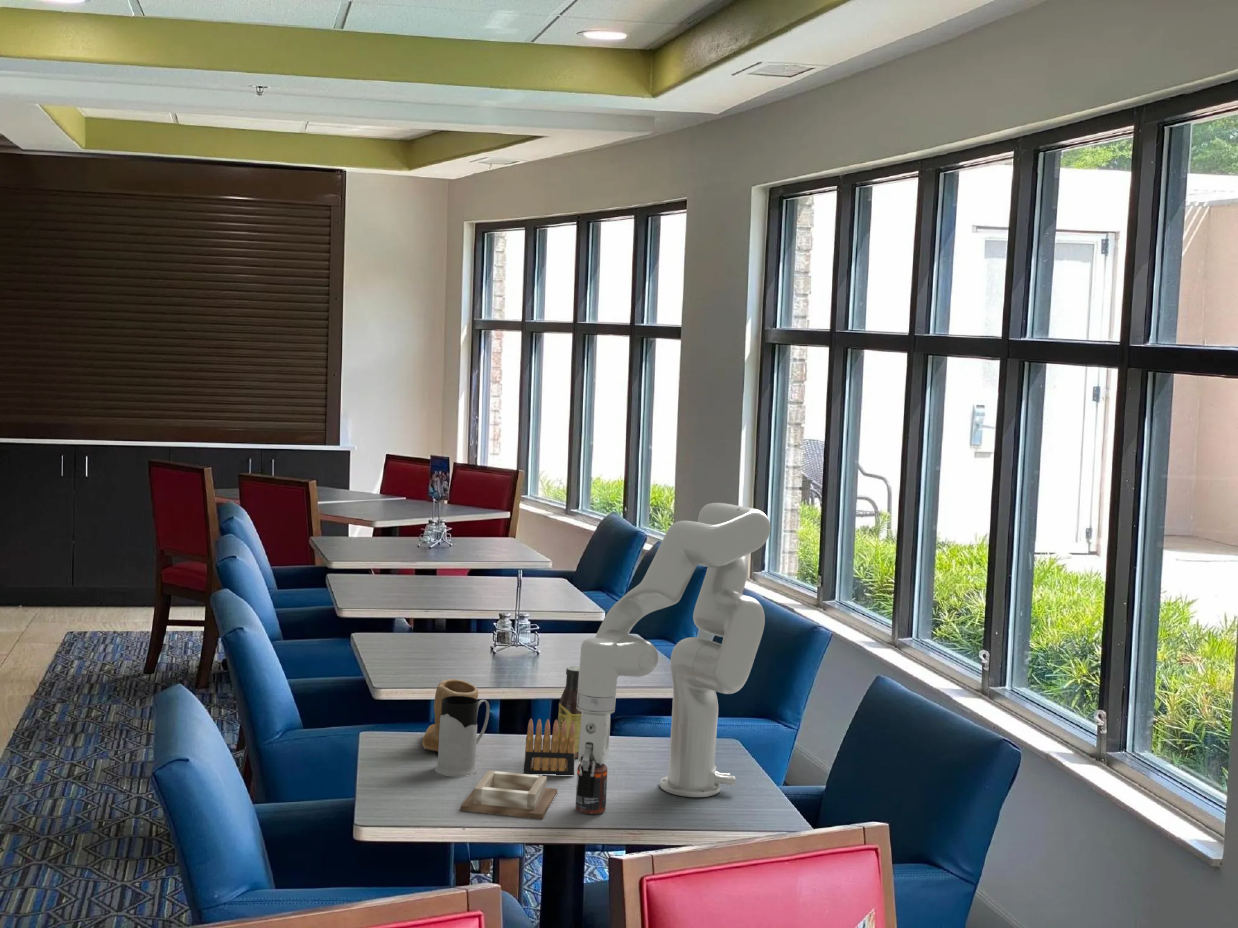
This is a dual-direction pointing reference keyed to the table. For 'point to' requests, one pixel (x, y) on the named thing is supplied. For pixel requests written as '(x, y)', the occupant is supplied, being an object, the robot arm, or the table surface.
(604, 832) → the table surface
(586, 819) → the table surface
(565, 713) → the sauce bottle
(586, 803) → the supplement bottle
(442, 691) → the tan boot
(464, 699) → the black and white mug
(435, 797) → the table surface
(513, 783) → the board
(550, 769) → the ammunition clip
